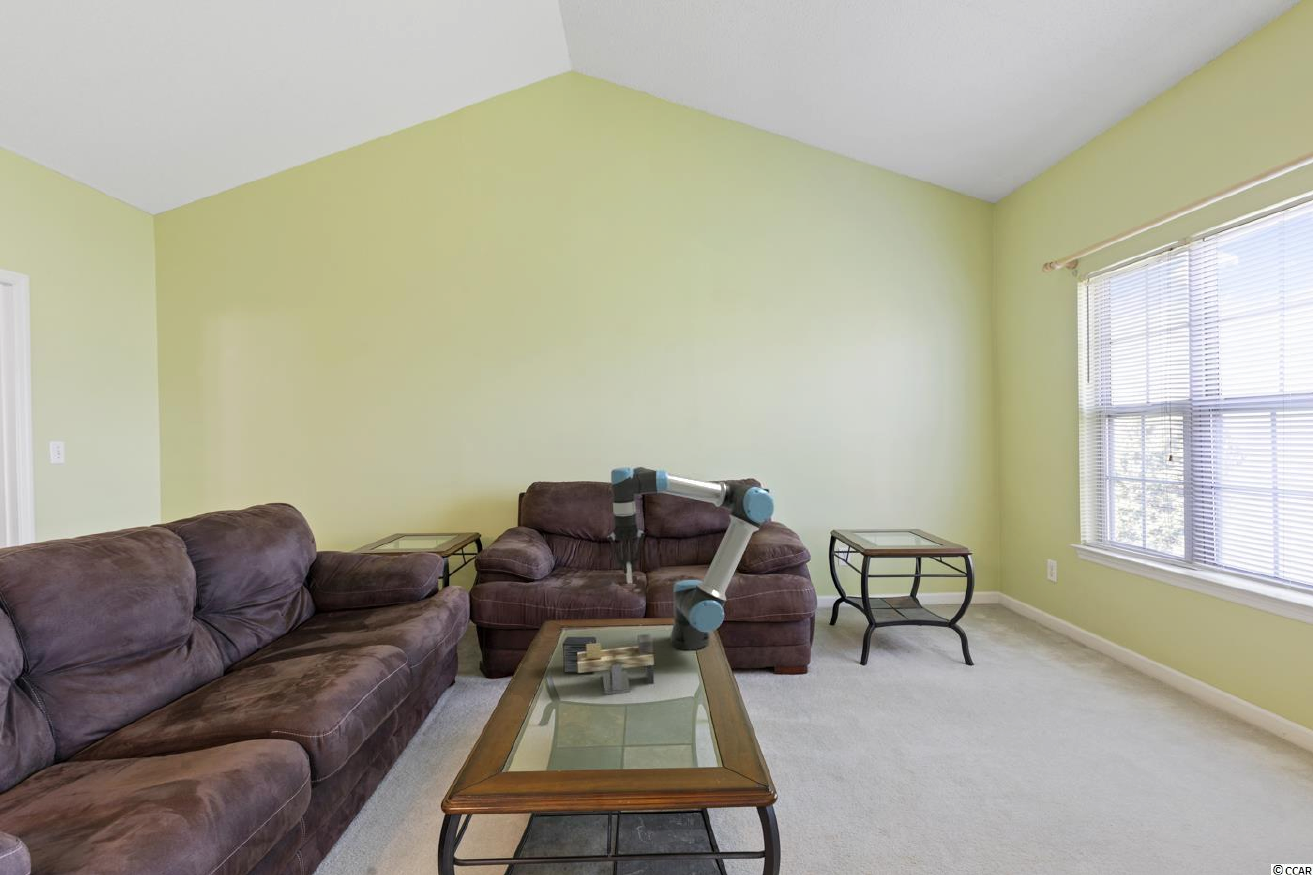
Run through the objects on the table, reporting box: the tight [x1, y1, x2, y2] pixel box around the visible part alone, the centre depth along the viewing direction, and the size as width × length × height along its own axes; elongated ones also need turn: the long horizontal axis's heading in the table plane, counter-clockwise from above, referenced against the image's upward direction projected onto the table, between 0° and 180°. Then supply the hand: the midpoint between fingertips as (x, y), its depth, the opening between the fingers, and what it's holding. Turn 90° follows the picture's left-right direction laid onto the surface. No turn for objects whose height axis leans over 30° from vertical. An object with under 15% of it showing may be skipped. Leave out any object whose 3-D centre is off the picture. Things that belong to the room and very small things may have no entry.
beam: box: [577, 633, 655, 673], centre depth 178 cm, size 24×9×7 cm, turn 99°
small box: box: [562, 636, 597, 675], centre depth 189 cm, size 11×6×10 cm, turn 84°
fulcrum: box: [601, 663, 655, 696], centre depth 179 cm, size 16×12×9 cm
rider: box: [586, 642, 602, 661], centre depth 177 cm, size 4×4×5 cm
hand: (629, 582), depth 187 cm, fingers closed
